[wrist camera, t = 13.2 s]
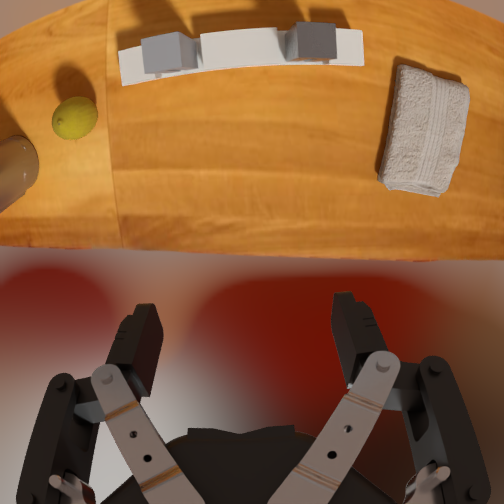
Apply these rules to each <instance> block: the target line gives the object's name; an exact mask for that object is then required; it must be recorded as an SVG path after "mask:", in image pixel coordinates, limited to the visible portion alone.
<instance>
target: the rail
mask: <svg viewBox="0 0 504 504" xmlns="http://www.w3.org/2000/svg"><path fill="white" fill-rule="evenodd" d="M286 32H287V31H277V27H273V28H253V29H240V30H229V31H220V32H212V33H204V34H200V37H201V38H194V39H191V38H189V37H187V36H186V35H184V34H182V33H180V32H179V31H177V32H172V33H167V34H162V35H157V36H153V37H148V38H144V39H141V46H137V47H133V48H129V49H125V50H121V51H118V55H119V64H120V72H121V80H122V86H126V85H132V84H137V83H141V82H146V81H151V80H156V79H161V78H166V77H172V76H177V75H183V74H190V73H197V72H204V71H212V70H220V69H229V68H240V67H253V66H270V65H346V66H364V51H363V35H362V30H353V29H340V28H336V43H337V59H333V60H326V61H320V62H304V60H303V61H299V62H286V52H285V33H286Z"/></svg>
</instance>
